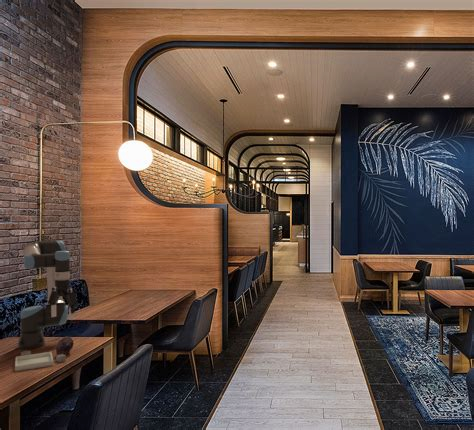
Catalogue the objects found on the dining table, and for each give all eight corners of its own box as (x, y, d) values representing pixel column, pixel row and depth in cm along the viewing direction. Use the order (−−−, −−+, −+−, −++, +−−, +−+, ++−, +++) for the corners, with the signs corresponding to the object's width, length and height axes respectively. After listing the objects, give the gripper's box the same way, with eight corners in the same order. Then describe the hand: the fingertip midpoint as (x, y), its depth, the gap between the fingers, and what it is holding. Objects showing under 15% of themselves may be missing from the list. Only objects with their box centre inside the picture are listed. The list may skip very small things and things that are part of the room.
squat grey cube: (56, 361, 224) (56, 355, 224) (62, 359, 226) (62, 354, 226) (59, 362, 221) (59, 357, 221) (65, 361, 223) (65, 355, 224)
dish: (15, 361, 224) (15, 356, 224) (51, 356, 232) (51, 351, 232) (15, 371, 208) (14, 366, 208) (53, 365, 216) (53, 360, 216)
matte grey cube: (24, 356, 234) (24, 350, 234) (30, 356, 233) (30, 350, 233) (20, 358, 230) (20, 352, 230) (26, 358, 229) (26, 352, 229)
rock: (53, 358, 231) (72, 357, 233) (52, 344, 230) (71, 342, 232) (58, 349, 242) (76, 347, 244) (57, 335, 241) (75, 334, 243)
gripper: (40, 278, 229) (41, 317, 229) (73, 281, 218) (73, 321, 218) (52, 277, 236) (52, 314, 236) (84, 279, 225) (84, 318, 225)
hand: (62, 318), depth 227 cm, fingers open, 13 cm apart
